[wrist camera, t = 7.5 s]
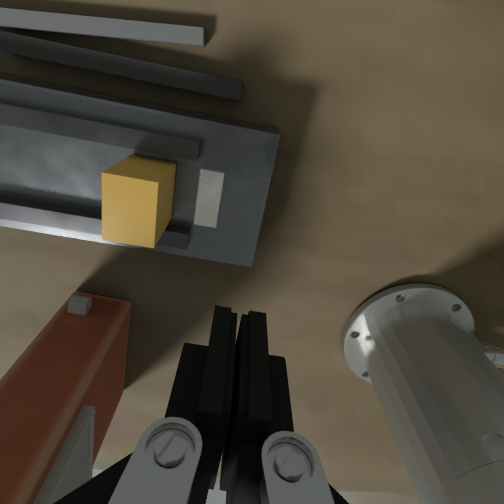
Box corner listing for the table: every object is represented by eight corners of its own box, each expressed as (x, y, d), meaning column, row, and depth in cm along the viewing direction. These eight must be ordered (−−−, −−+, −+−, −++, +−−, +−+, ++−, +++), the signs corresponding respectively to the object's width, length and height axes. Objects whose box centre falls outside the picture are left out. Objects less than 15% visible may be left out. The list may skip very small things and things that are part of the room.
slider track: (276, 127, 26) (281, 137, 21) (251, 245, 30) (252, 275, 26) (-61, 60, 24) (-135, 54, 19) (-35, 196, 28) (-91, 219, 24)
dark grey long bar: (243, 81, 25) (242, 81, 24) (240, 99, 25) (240, 100, 24) (10, 32, 23) (-2, 30, 22) (12, 52, 24) (1, 51, 23)
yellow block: (176, 162, 23) (158, 182, 19) (171, 218, 25) (153, 248, 20) (131, 154, 23) (101, 172, 18) (129, 210, 25) (101, 239, 20)
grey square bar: (205, 29, 23) (203, 27, 22) (204, 46, 24) (202, 45, 23) (-8, 8, 23) (-19, 5, 22) (-5, 26, 23) (-15, 24, 22)
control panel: (67, 390, 38) (66, 277, 32) (131, 400, 39) (142, 291, 33) (-116, 701, 19) (-213, 574, 13) (15, 709, 20) (-13, 593, 13)
